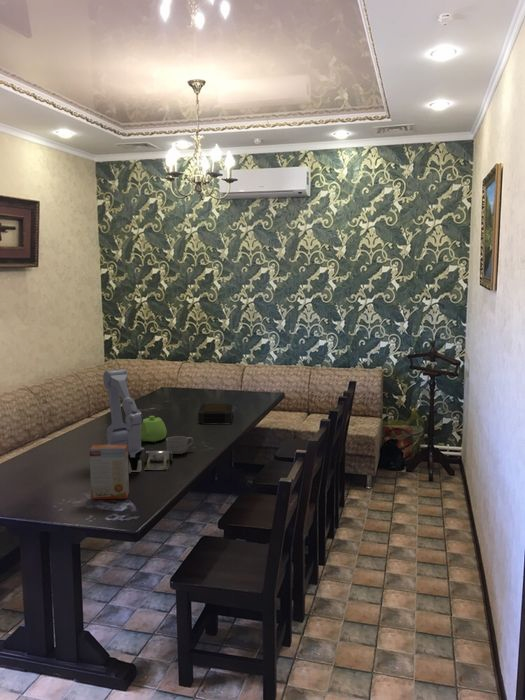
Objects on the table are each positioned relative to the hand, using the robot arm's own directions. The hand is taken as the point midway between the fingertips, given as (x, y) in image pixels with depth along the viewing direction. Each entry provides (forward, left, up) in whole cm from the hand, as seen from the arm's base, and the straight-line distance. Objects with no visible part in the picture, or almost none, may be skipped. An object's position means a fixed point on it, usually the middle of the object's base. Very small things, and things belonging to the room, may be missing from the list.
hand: (135, 468), depth 264 cm
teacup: (+18, +26, -2) cm, 32 cm away
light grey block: (0, 0, -1) cm, 1 cm away
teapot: (+1, +50, -2) cm, 50 cm away
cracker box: (-6, -31, -2) cm, 32 cm away
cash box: (+36, +95, -2) cm, 102 cm away
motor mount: (+10, +7, -1) cm, 12 cm away
